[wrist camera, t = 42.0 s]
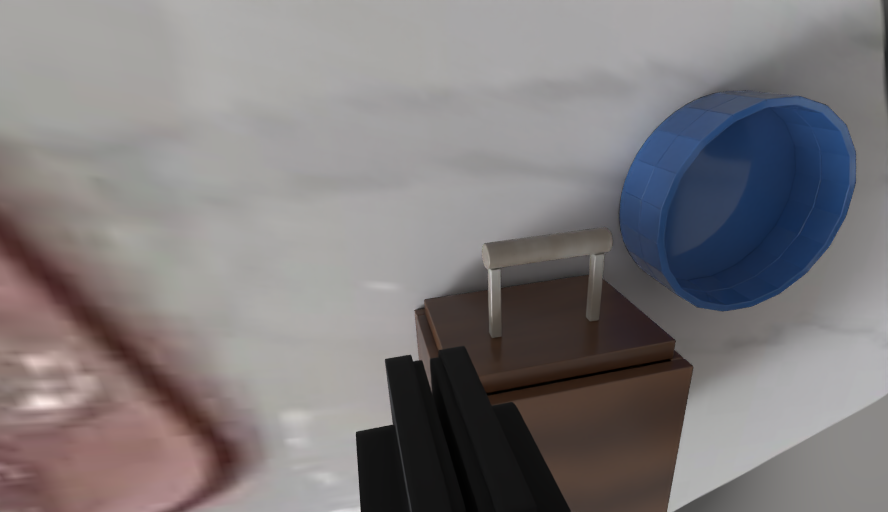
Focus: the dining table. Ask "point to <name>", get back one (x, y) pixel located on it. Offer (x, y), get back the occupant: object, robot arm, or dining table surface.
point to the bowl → (738, 196)
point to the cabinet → (602, 430)
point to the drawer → (547, 318)
